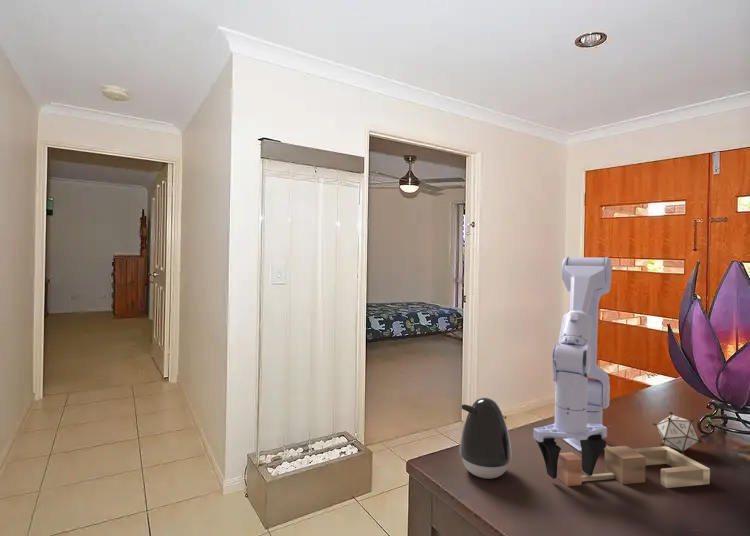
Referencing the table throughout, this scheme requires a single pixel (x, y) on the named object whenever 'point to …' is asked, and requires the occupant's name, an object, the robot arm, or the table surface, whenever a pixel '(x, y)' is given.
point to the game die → (677, 432)
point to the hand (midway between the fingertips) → (569, 474)
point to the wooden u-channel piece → (676, 467)
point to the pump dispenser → (485, 440)
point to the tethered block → (617, 466)
